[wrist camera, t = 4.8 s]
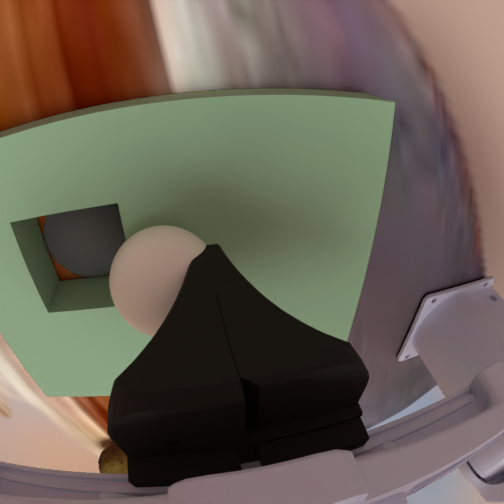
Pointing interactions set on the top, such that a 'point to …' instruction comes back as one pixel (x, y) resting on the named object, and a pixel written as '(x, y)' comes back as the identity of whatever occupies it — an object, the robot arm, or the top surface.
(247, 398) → the robot arm
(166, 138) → the putting mat
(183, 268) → the ball
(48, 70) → the top surface
